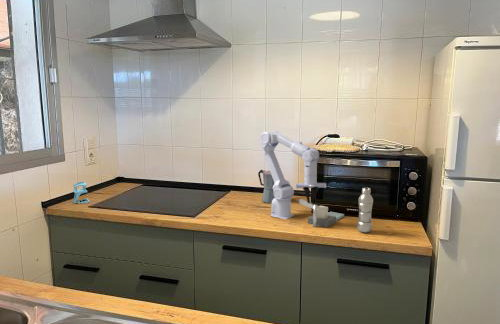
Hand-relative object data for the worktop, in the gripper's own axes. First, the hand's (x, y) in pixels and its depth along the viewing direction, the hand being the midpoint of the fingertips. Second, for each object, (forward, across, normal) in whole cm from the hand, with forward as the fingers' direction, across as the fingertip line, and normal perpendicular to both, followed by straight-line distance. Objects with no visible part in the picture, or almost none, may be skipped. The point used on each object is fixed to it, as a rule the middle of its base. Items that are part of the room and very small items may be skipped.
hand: (310, 202), depth 180 cm
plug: (+10, +6, 0) cm, 12 cm away
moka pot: (+9, -16, +41) cm, 45 cm away
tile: (+10, +13, +9) cm, 19 cm away
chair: (+7, -125, +44) cm, 133 cm away
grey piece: (+10, -1, 0) cm, 10 cm away
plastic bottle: (+11, +22, -12) cm, 27 cm away
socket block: (+10, +6, 0) cm, 12 cm away
